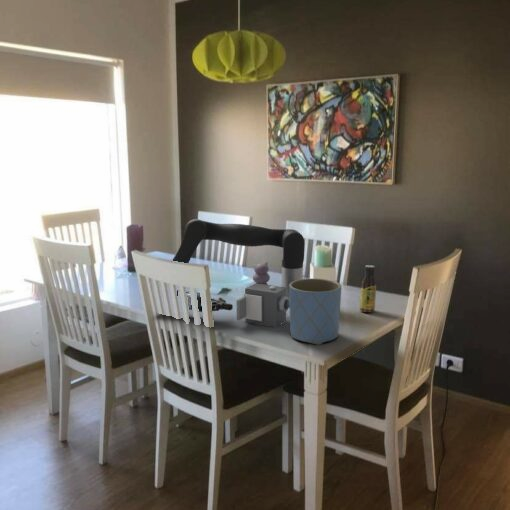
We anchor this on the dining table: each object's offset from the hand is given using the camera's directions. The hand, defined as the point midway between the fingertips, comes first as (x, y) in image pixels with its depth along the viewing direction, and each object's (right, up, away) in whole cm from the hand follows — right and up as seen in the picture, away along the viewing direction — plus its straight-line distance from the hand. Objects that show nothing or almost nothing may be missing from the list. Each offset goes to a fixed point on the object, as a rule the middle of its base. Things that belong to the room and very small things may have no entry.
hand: (231, 307), depth 219 cm
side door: (+7, -5, -1) cm, 9 cm away
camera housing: (+15, -6, +4) cm, 16 cm away
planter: (+31, -10, -12) cm, 35 cm away
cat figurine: (+12, +5, +56) cm, 57 cm away
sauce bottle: (+57, -4, +17) cm, 60 cm away
